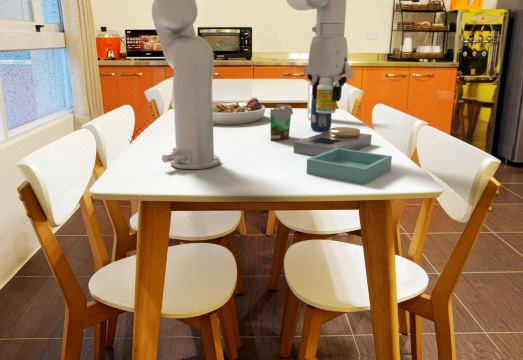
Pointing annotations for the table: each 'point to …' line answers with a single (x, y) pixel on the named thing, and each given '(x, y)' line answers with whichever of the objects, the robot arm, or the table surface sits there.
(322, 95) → the supplement bottle
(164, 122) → the table surface
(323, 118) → the soda can
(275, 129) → the food container
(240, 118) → the bowl
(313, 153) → the bracket
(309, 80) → the water bottle
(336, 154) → the tray
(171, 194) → the table surface
